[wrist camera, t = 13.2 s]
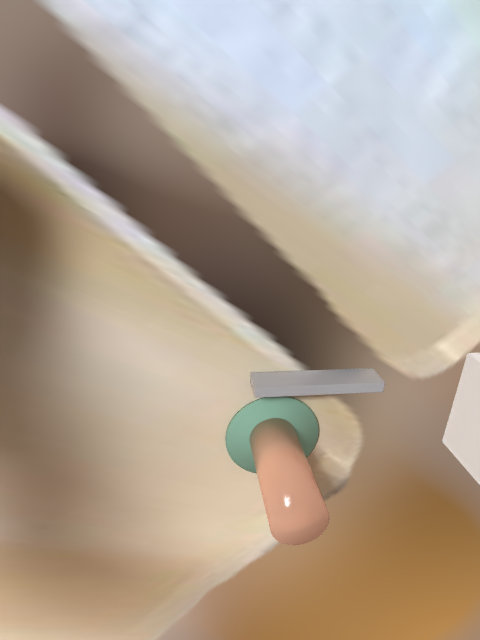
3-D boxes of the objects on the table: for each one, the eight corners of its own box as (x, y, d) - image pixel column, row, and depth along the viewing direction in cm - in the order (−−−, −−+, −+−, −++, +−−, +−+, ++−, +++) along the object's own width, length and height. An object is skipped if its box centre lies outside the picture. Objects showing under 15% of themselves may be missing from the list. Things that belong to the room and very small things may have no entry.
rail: (250, 382, 46) (254, 397, 44) (250, 372, 46) (255, 387, 43) (371, 377, 48) (383, 392, 46) (373, 368, 48) (385, 382, 45)
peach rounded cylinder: (248, 457, 50) (268, 547, 39) (250, 419, 48) (272, 503, 37) (293, 454, 51) (325, 542, 40) (297, 416, 49) (333, 498, 38)
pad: (224, 474, 51) (224, 477, 51) (227, 397, 47) (227, 399, 46) (312, 468, 53) (313, 470, 52) (323, 393, 48) (324, 395, 48)
